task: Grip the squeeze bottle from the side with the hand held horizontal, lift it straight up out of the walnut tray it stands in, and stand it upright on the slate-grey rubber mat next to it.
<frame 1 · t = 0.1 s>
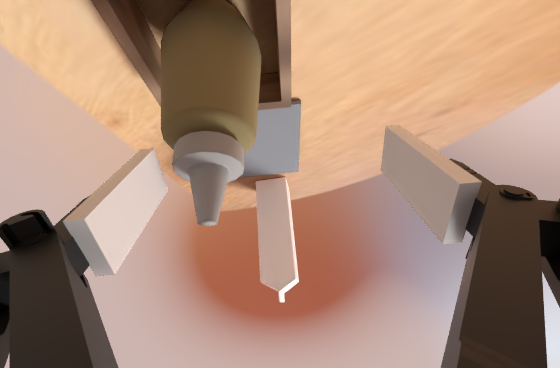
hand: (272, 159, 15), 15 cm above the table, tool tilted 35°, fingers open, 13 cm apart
walnut tray: (214, 29, 24), on the table
squeeze bottle: (214, 27, 24), resting in walnut tray
slate mat: (247, 146, 41), on the table
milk: (272, 184, 55), on the table
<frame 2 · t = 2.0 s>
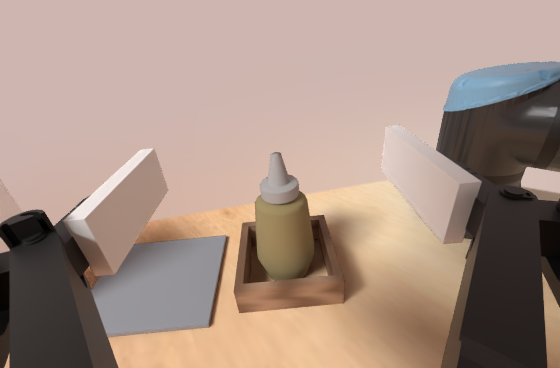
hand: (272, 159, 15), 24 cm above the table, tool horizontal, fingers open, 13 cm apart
walnut tray: (287, 268, 39), on the table
squeeze bottle: (287, 269, 39), resting in walnut tray
slate mat: (158, 280, 39), on the table
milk: (42, 309, 37), on the table
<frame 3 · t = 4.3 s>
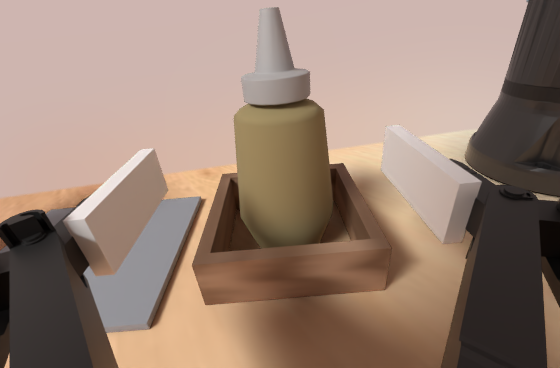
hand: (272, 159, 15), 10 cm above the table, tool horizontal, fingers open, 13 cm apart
walnut tray: (289, 237, 25), on the table
squeeze bottle: (289, 239, 25), resting in walnut tray
slate mat: (87, 255, 25), on the table
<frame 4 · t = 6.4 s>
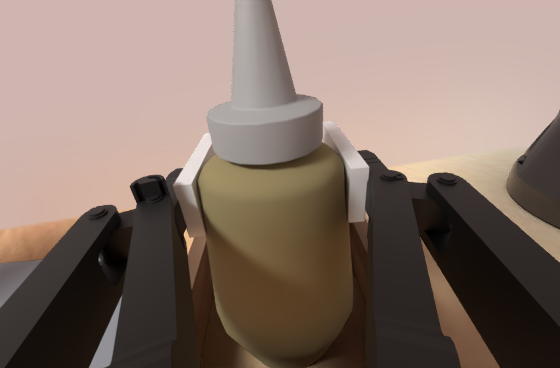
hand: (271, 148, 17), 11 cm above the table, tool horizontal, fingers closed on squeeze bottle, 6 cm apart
walnut tray: (288, 324, 18), on the table
squeeze bottle: (288, 326, 18), resting in walnut tray, touching gripper
slate mat: (5, 349, 18), on the table
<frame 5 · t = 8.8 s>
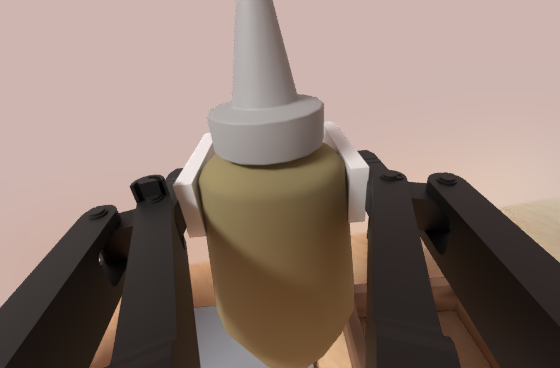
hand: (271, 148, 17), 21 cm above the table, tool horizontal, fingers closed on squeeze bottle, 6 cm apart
squeeze bottle: (289, 326, 18), point 10 cm above the table, touching gripper
when the fingers open (13 cm above the table, at t = 11.1 s): squeeze bottle drops 1 cm, resting on slate mat.
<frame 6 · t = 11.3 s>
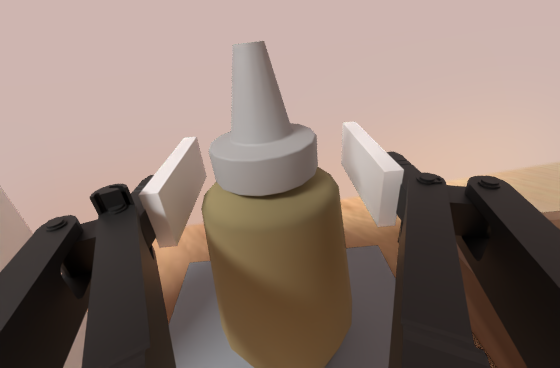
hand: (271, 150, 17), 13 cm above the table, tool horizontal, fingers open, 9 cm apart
squeeze bottle: (291, 338, 18), resting on slate mat
slate mat: (290, 342, 19), on the table
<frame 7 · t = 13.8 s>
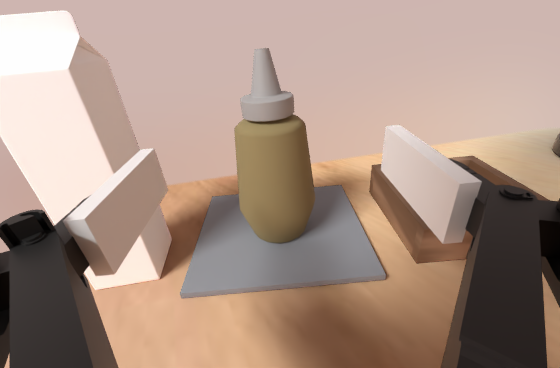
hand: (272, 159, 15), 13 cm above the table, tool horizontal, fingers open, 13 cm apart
walnut tray: (445, 215, 31), on the table
squeeze bottle: (280, 228, 30), resting on slate mat
slate mat: (279, 230, 31), on the table
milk: (138, 263, 28), on the table
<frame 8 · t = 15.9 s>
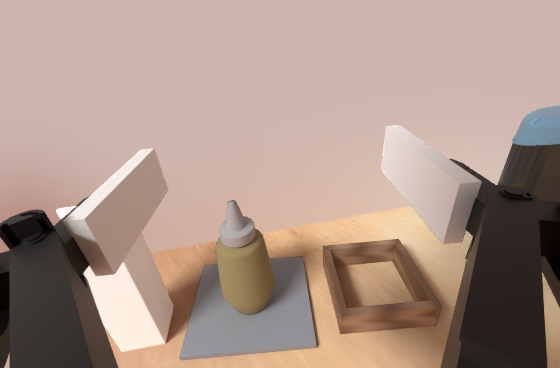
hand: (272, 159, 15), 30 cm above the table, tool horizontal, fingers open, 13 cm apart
walnut tray: (371, 289, 42), on the table
squeeze bottle: (251, 299, 42), resting on slate mat
slate mat: (251, 301, 42), on the table
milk: (150, 328, 40), on the table
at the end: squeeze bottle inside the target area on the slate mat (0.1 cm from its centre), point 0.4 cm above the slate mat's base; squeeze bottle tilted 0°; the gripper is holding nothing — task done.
